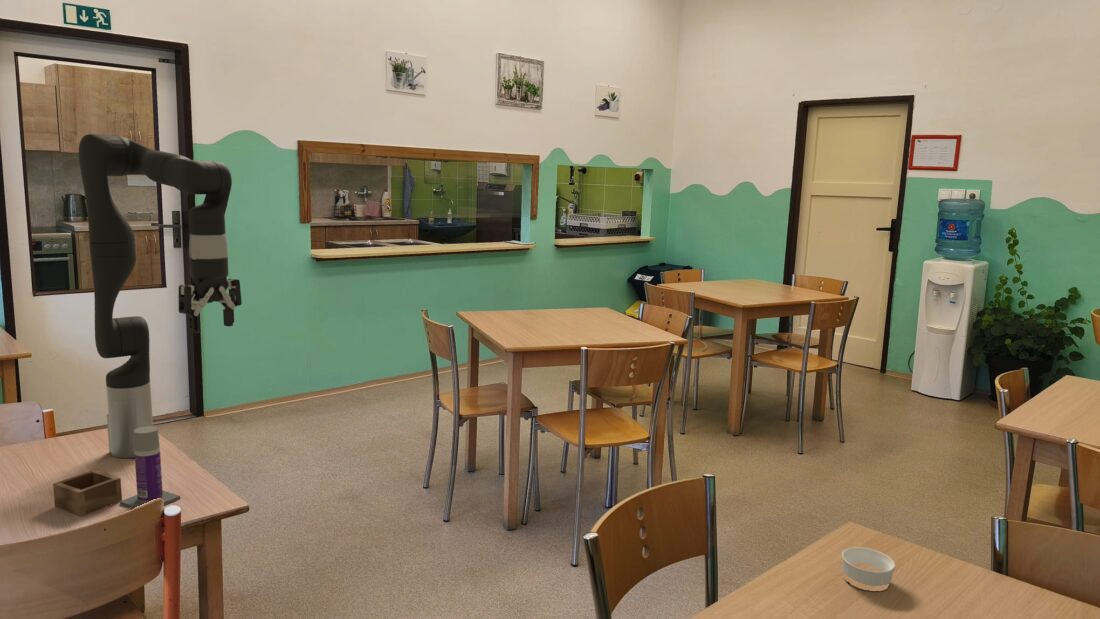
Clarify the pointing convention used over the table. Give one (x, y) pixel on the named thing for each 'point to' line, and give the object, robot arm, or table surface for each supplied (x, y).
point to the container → (147, 464)
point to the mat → (134, 503)
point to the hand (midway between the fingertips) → (212, 329)
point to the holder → (87, 492)
